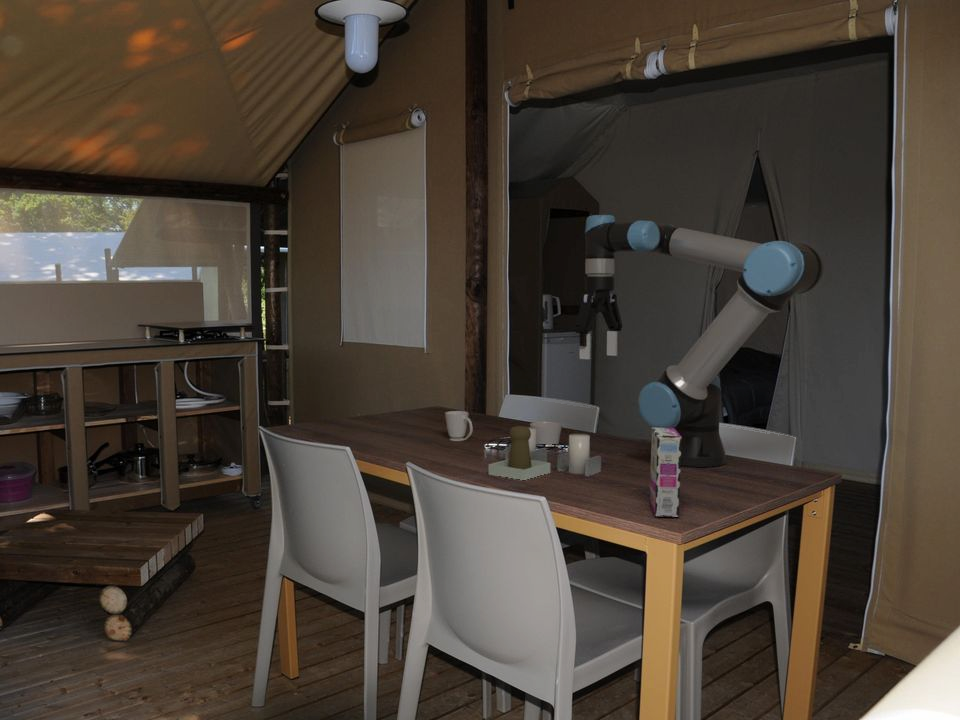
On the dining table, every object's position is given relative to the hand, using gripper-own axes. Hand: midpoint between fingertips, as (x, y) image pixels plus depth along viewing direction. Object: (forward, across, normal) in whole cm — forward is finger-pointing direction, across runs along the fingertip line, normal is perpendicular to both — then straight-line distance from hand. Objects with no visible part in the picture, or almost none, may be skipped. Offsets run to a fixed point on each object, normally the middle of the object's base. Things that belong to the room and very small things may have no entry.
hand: (598, 357), depth 223 cm
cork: (+26, +28, -5) cm, 39 cm away
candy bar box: (+27, +37, +38) cm, 59 cm away
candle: (+27, -5, -20) cm, 34 cm away
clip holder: (+27, +17, -3) cm, 32 cm away
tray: (+27, +28, -5) cm, 39 cm away
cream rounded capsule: (+27, +17, -11) cm, 34 cm away
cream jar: (+27, +17, +5) cm, 32 cm away
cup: (+27, +3, -45) cm, 53 cm away
